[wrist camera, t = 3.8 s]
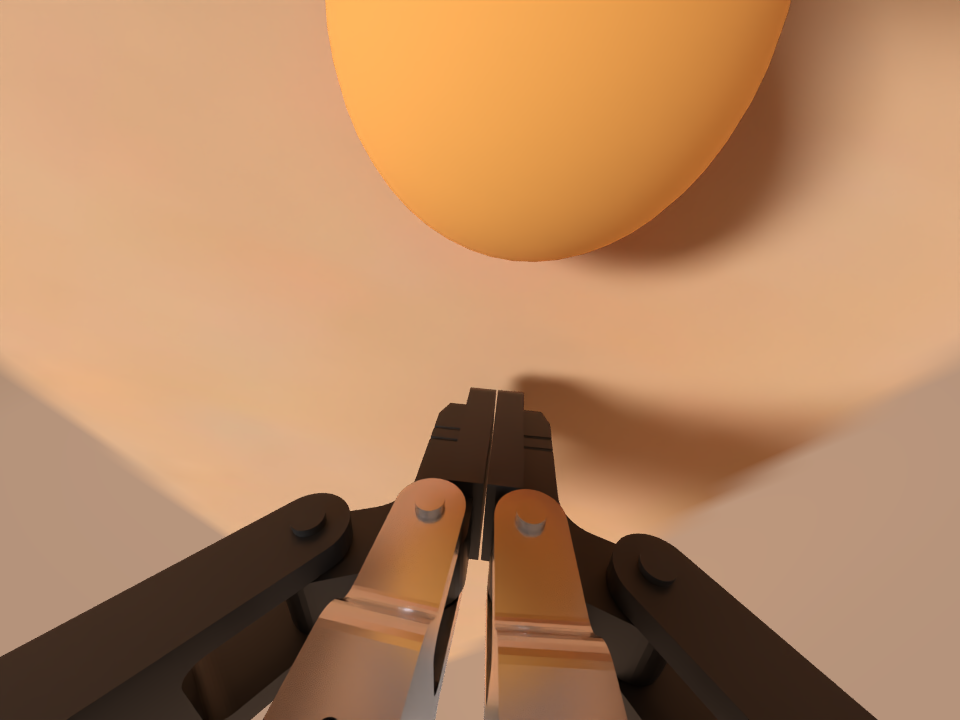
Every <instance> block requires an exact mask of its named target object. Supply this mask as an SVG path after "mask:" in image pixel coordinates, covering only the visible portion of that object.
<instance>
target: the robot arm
mask: <svg viewBox="0 0 960 720" xmlns="http://www.w3.org/2000/svg"><path fill="white" fill-rule="evenodd" d="M495 398H496V390H491V389H481V388H471V389H470V392H469V396H468V400H467V404H466V405H465V404H456V403H450V404H449V405H448V406H447V407H445V408H444V409H443V410H442V411H441V412H440V413H439V415H438V418H437V421H436V424H435V428H434V429H433V432H432V435H431V439H430V440H429V443H428V446H427V449H426V451H425V454H424V457H423V460H422V462H421V465H420V468H419V471H418V474H417V476H416V479H415V481H414V482H413V483H411V484H410V485H408V486H407V487H405V488H404V489H403V490H402V491H401V492H400V493H399V495H398V496H397V498H396V500H395V501H394V502H392V503H389V504H386V505H383V506H379V507H374V508H368V509H361V510H355V511H350V510H349V507H348V505H347V503H346V502H345V501H344V500H343V499H342V498H340V497H338V496H336V495H333V494H328V493H317V494H311V495H307V496H304V497H301V498H299V499H297V500H295V501H293V502H291V503H289V504H287V505H285V506H283V507H281V508H280V509H278V510H276V511H274V512H272V513H270V514H268V515H266V516H264V517H263V518H261V519H259V520H257V521H255V522H253V523H251V524H249V525H248V526H246V527H244V528H242V529H240V530H238V531H236V532H234V533H233V534H231V535H229V536H227V537H225V538H223V539H221V540H219V541H217V542H216V543H214V544H212V545H210V546H208V547H207V548H204V549H202V550H201V551H199V552H197V553H195V554H193V555H191V556H189V557H187V558H186V559H184V560H182V561H180V562H178V563H176V564H174V565H172V566H170V567H169V568H167V569H165V570H163V571H161V572H159V573H157V574H156V575H154V576H152V577H150V578H148V579H146V580H144V581H142V582H141V583H139V584H137V585H135V586H133V587H131V588H129V589H127V590H125V591H123V592H122V593H120V594H118V595H116V596H114V597H112V598H110V599H108V600H107V601H105V602H103V603H101V604H99V605H97V606H95V607H93V608H92V609H90V610H88V611H86V612H84V613H82V614H80V615H78V616H77V617H75V618H73V619H71V620H69V621H67V622H65V623H63V624H61V625H60V626H58V627H56V628H54V629H52V630H50V631H48V632H46V633H45V634H43V635H41V636H39V637H37V638H35V639H33V640H31V641H30V642H28V643H26V644H24V645H22V646H20V647H18V648H16V649H15V650H13V651H11V652H9V653H7V654H5V655H3V656H1V657H0V720H251V719H252V718H253V717H254V716H255V715H257V714H258V713H259V712H260V711H261V710H263V709H264V708H265V707H266V706H267V705H268V704H270V703H271V702H272V701H273V702H272V704H271V706H270V707H269V709H268V711H267V713H266V715H265V717H264V718H263V720H435V718H436V711H437V705H438V700H439V695H440V691H441V686H442V682H443V677H444V673H445V668H446V664H447V659H448V655H449V650H450V646H451V642H452V637H453V633H454V628H455V624H456V619H457V615H458V610H459V606H460V601H461V596H462V589H463V587H464V584H465V580H466V573H467V566H468V559H475V560H478V556H479V548H480V540H481V531H482V523H483V514H484V506H485V516H484V529H483V542H482V555H481V560H484V561H490V562H489V574H488V586H487V596H486V636H485V698H484V720H877V719H876V718H875V717H874V716H872V715H871V714H870V713H869V712H868V711H866V710H865V709H864V708H863V707H862V706H861V705H860V704H858V703H857V702H856V701H855V700H854V699H852V698H851V697H850V696H849V695H848V694H847V693H846V692H844V691H843V690H842V689H841V688H840V687H838V686H837V685H836V684H835V683H834V682H833V681H831V680H830V679H829V678H828V677H827V676H826V675H824V674H823V673H822V672H821V671H820V670H819V669H817V668H816V667H815V666H814V665H812V664H811V663H810V662H809V661H808V660H807V659H806V658H804V657H803V656H802V655H801V654H800V653H799V652H797V651H796V650H795V649H794V648H793V647H792V646H790V645H789V644H788V643H787V642H786V641H785V640H783V639H782V638H781V637H780V636H779V635H778V634H776V633H775V632H774V631H773V630H772V629H770V628H769V627H768V626H767V625H766V624H765V623H763V622H762V621H761V620H760V619H759V618H758V617H756V616H755V615H754V614H753V613H752V612H751V611H749V610H748V609H747V608H746V607H745V606H744V605H742V604H741V603H740V602H739V601H737V600H736V599H735V598H734V597H733V596H732V595H731V594H729V593H728V592H727V591H726V590H725V589H724V588H722V587H721V586H720V585H719V584H718V583H717V582H715V581H714V580H713V579H712V578H710V577H709V576H708V575H707V574H706V573H705V572H704V571H702V570H701V569H700V568H699V567H698V566H697V565H695V564H694V563H693V562H692V561H691V560H690V559H688V558H687V557H686V556H685V555H684V554H682V553H681V552H680V551H679V550H678V549H676V548H675V547H674V546H672V545H671V544H669V543H667V542H666V541H664V540H662V539H660V538H657V537H654V536H651V535H647V534H630V535H627V536H625V537H623V538H621V539H620V540H619V541H618V542H617V543H616V544H615V543H612V542H610V541H607V540H605V539H603V538H600V537H598V536H595V535H593V534H591V533H589V532H587V531H585V530H583V529H581V528H580V527H578V526H577V525H576V524H575V523H573V522H572V521H571V520H570V519H569V518H568V517H567V515H566V514H565V512H564V510H563V509H562V507H561V506H560V503H559V500H558V493H557V484H556V475H555V466H554V457H553V452H552V451H553V448H552V441H551V429H550V424H549V422H548V421H547V420H546V418H545V417H544V415H543V414H542V413H541V412H535V411H525V410H524V393H522V392H512V391H502V390H498V396H497V405H496V413H495V421H494V411H495ZM493 423H494V430H493ZM492 435H493V438H492ZM491 446H492V447H491ZM486 489H487V491H486ZM485 498H486V504H485Z"/></svg>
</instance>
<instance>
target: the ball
mask: <svg viewBox="0 0 960 720" xmlns="http://www.w3.org/2000/svg"><path fill="white" fill-rule="evenodd" d="M325 2H326V16H327V28H328V34H329V40H330V45H331V51H332V57H333V62H334V66H335V69H336V73H337V76H338V80H339V83H340V87H341V91H342V94H343V98H344V101H345V105H346V108H347V110H348V113H349V115H350V118H351V120H352V123H353V125H354V128H355V130H356V132H357V135H358V137H359V139H360V140H361V142H362V144H363V146H364V148H365V150H366V152H367V153H368V155H369V157H370V159H371V161H372V162H373V164H374V165H375V167H376V169H377V170H378V171H379V173H380V174H381V176H382V177H383V179H384V180H385V181H386V183H387V184H388V186H389V187H390V189H391V190H392V191H393V192H394V193H395V194H396V196H397V197H398V198H399V199H400V200H401V201H402V202H403V203H404V205H405V206H406V207H407V208H408V209H409V210H410V211H411V212H413V213H414V214H415V215H416V216H417V217H418V218H419V219H421V220H422V221H423V222H424V223H425V224H426V225H428V226H429V227H431V228H432V229H434V230H435V231H437V232H438V233H440V234H441V235H443V236H444V237H446V238H447V239H449V240H451V241H453V242H455V243H457V244H459V245H461V246H463V247H465V248H467V249H469V250H472V251H475V252H478V253H481V254H484V255H487V256H490V257H495V258H501V259H506V260H511V261H528V262H538V261H550V260H559V259H564V258H568V257H573V256H577V255H582V254H585V253H588V252H591V251H594V250H596V249H599V248H602V247H605V246H607V245H609V244H611V243H613V242H615V241H617V240H619V239H621V238H623V237H625V236H627V235H629V234H631V233H633V232H634V231H636V230H637V229H639V228H640V227H642V226H643V225H645V224H646V223H648V222H649V221H651V220H652V219H654V218H655V217H656V216H657V215H658V214H660V213H661V212H662V211H663V210H664V209H665V208H667V207H668V206H669V205H670V204H671V203H673V202H674V201H675V200H676V199H677V198H679V197H680V196H681V195H682V194H683V193H684V192H685V191H686V190H687V189H688V188H689V187H690V186H691V185H692V184H693V183H694V182H695V181H696V180H697V179H698V177H699V176H700V175H701V174H702V173H703V172H704V171H705V170H706V169H707V167H708V166H709V165H710V163H711V162H712V161H713V160H714V158H715V157H716V156H717V154H718V153H719V152H720V150H721V149H722V148H723V146H724V145H725V144H726V142H727V141H728V139H729V138H730V136H731V135H732V133H733V131H734V130H735V128H736V127H737V125H738V123H739V122H740V120H741V118H742V117H743V115H744V114H745V112H746V110H747V109H748V107H749V105H750V104H751V102H752V100H753V98H754V96H755V94H756V92H757V90H758V88H759V86H760V84H761V82H762V80H763V77H764V75H765V73H766V71H767V69H768V67H769V64H770V61H771V59H772V56H773V53H774V50H775V48H776V45H777V42H778V39H779V37H780V34H781V31H782V28H783V25H784V22H785V19H786V17H787V14H788V11H789V7H790V3H791V0H325Z"/></svg>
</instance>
